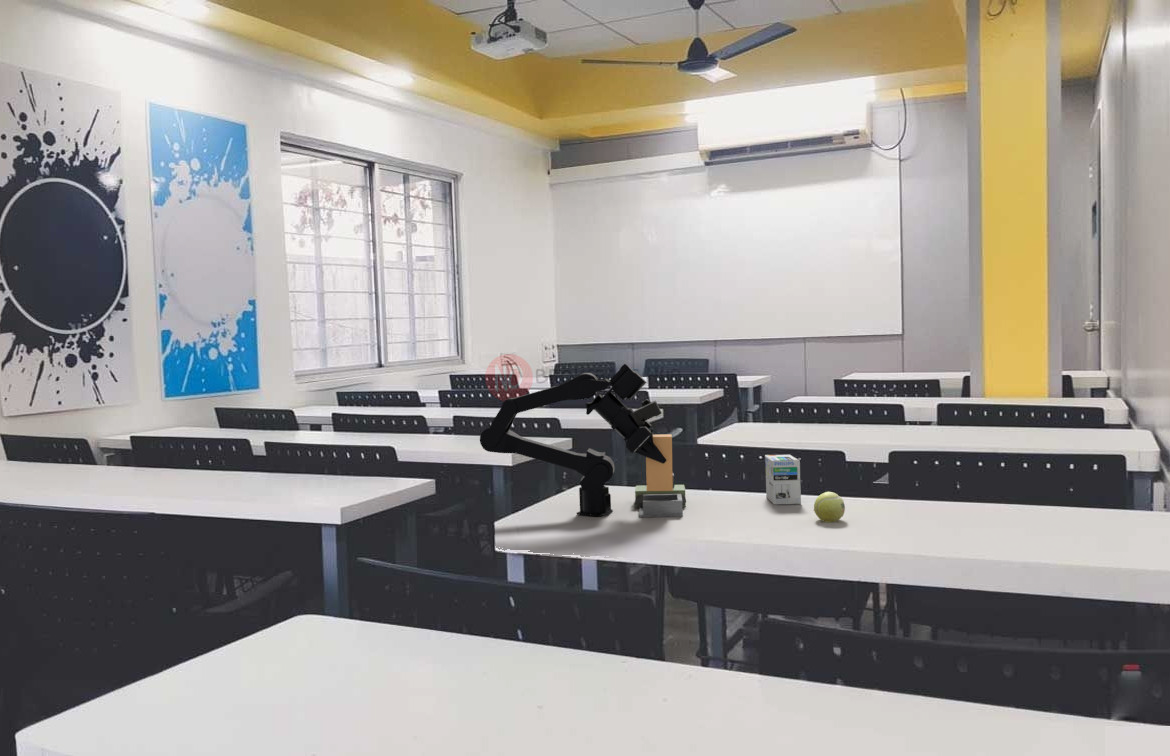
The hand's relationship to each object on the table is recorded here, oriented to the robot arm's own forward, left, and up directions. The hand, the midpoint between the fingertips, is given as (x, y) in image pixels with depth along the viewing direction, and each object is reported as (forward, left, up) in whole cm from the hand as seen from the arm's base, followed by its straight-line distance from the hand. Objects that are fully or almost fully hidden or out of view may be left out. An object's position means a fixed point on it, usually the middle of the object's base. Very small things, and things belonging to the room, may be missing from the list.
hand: (665, 460), depth 210 cm
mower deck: (-6, +9, -12) cm, 16 cm away
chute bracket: (-1, -1, -12) cm, 12 cm away
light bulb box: (+21, +23, -12) cm, 33 cm away
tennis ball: (+37, +4, -12) cm, 39 cm away
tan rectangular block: (-1, -1, -7) cm, 7 cm away
